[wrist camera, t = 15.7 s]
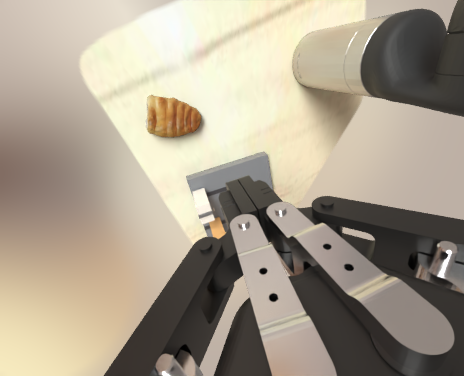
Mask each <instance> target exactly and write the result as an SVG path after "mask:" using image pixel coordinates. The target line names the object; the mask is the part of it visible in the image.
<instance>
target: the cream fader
mask: <svg viewBox="0 0 464 376" xmlns="http://www.w3.org/2000/svg"><path fill="white" fill-rule="evenodd" d="M192 193H193V197H194V202H195V206H196V209H197V212H198V215H199V219H200V220H201V223H202V224H205V223H208V222H211V221H214V220H215V219H214V216H213V212H212V210H211V207H210V204H209V201H208V198H207V195H206V192H205V189H204V188H202V189H199V190H196V191H193V192H192Z"/></svg>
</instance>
